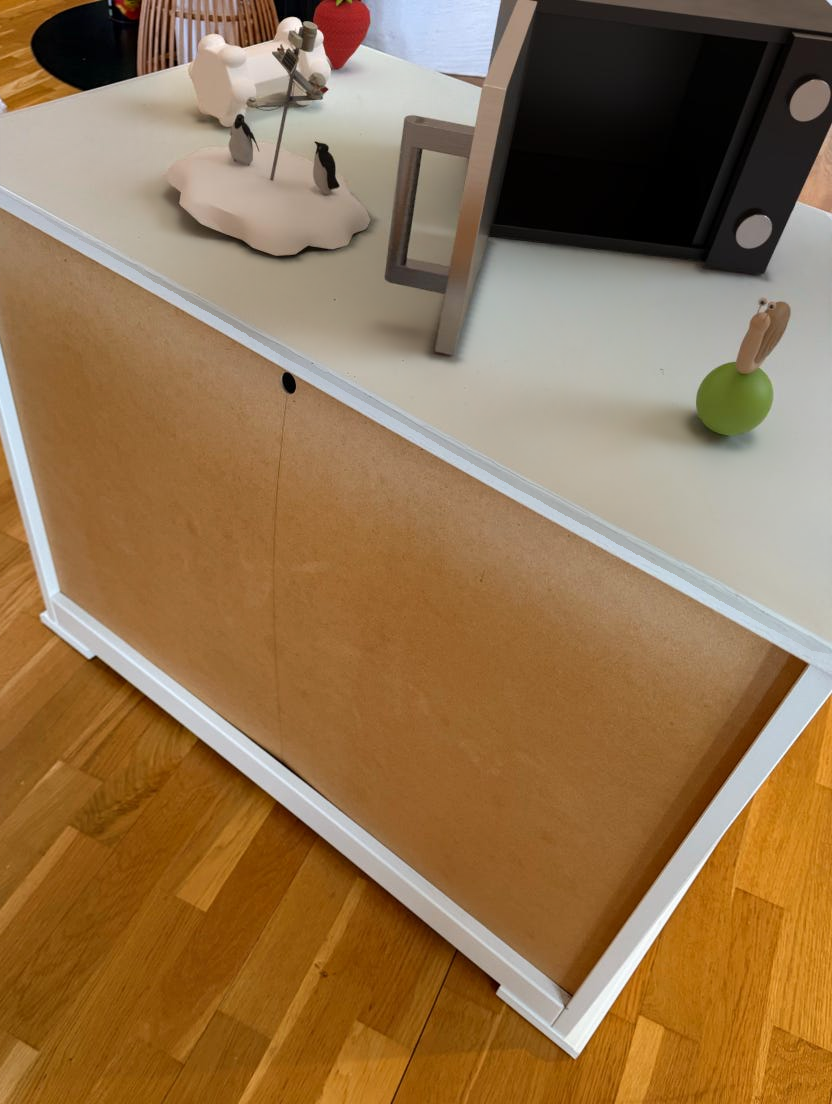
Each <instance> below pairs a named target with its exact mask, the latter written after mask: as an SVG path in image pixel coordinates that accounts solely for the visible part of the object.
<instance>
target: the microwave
mask: <svg viewBox="0 0 832 1104" xmlns="http://www.w3.org/2000/svg"><path fill="white" fill-rule="evenodd" d="M517 1H518V0H500V3H499V8H498V14H497V19H496V25H495V30H494V35H493V40H492V46H491V47H492V48H491V51H490V57H489V64H488V67H487V68H488V69H487V72H488V71H489V69H490V66H491V64H492V61H493V59H494V56H495V54H496V52H497V49H498V47H499V44H500V42H501V39H502V37H503V35H504V32H505V30H506V27H507V25H508V22H509V20H510V18H511V15H512V13H513V10H514V8H515V5H516V3H517ZM531 1H537V8H536V12H535V17H534V22H533V27H532V32H531V36H530V41H529V46H528V51H527V56H526V60H525V65H524V70H523V75H522V80H521V84H520V89H519V94H518V99H517V104H516V108H515V113H514V118H513V123H512V128H511V132H510V137H509V142H508V147H507V152H506V156H505V161H504V166H503V171H502V176H501V180H500V185H499V190H498V195H497V200H496V204H495V209H494V214H493V219H492V224H491V228H490V233H489V237H495V238H500V239H501V238H503V239H510V240H519V241H529V242H536V243H545V244H552V245H560V246H570V247H578V248H586V249H596V250H601V251H602V250H603V251H610V252H619V253H628V254H635V255H636V254H638V255H645V256H652V257H654V256H655V257H663V258H671V259H678V260H685V261H686V260H687V261H696V262H701V264H702V265H703V268H707V269H708V268H709V269H716V270H724V271H725V270H726V271H735V272H742V273H750V274H759V275H765V273H766V270H767V268H768V266H769V264H770V262H771V260H772V257H773V255H774V253H775V251H776V249H777V246H778V243H779V242H780V240H781V237H782V236H783V234H784V231H785V228H786V227H787V224H788V223H789V220H790V218H791V215H792V213H793V211H794V209H795V206H796V204H797V202H798V200H799V197H800V196H801V193H802V191H803V189H804V187H805V184H806V182H807V180H808V177H809V175H810V174H811V171H812V168H813V166H814V165H815V162H816V160H817V158H818V156H819V154H820V151H821V149H822V146H823V145H824V142H825V140H826V138H827V136H828V134H829V131H830V128H831V127H832V4H831V3H830V2H829V1H828V0H531Z"/></svg>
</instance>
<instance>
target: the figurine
mask: <svg viewBox="0 0 832 1104" xmlns="http://www.w3.org/2000/svg"><path fill="white" fill-rule="evenodd" d="M302 26H303V27H300V29H299V34H297V33H296V32H295V31H296V29H295V31H289V35H288V40H289V41H290V42H291V43H292V44H291V43H290V44H291V45H294V46H295V47H296V49H294V50H292V51H295V52H294V53H293V52H292V51H291V50H290V49H289V48H288V49H287V50H286V52H284V50H285V49H284V48H283V47H282V44H281V45H280V47H282V48H277V51H274V52H272V54H273V55H274V57H275V58H276V59H277V60H278V61H279V62H280V64H281V65H282V66H283V67H284V68H285V69H286V71H287V75H288V74H289V75H288V77H290V79H289V78H288V79H289V85H288V90H287V94H285V98H284V101H257V99H255V98H254V97H249V99H247V102H246V104H247V106H248V107H249V108H253V109H257V110H261V111H265V112H267V111H268V112H270V111H276V110H277V109H279V108H283V111H282V116H281V122H280V127H279V130H278V131H279V132H278V137H277V142H276V144H274V143H270V142H266V141H262V142H258V143H257V140H256V138H255V135H254V133H253V132H252V131H251V128H250V127H249V125H248V123H246V122H245V117H244V116H243V115H242V114H238V115H237V116H236V119H235V122H234V123H233V125H232V127H231V130H230V134H229V135H230V138H229V141H228V146H209V147H204V148H200V149H196V150H194V151H193V152H192V153H190V154H188V155H187V156H185V157H184V158H181V159H179V160H176V161H174V162H173V163H172V164H171V165H170V166H169V168H168V169H167V170H166V171H165V173H164V174H163V177H164V178H165V180H166V181H167V182H168V183H169V185H171V186H172V187H174V189H176V190H177V191H179V193H180V196H179V204H178V205H180V206H181V207H182V208H183V209H184V210H185V211H186V212H187V213H188V214H190V215H191V216H192V218H194V219H195V220H196V221H197V222H198V223H199V224H200V225H203V226H205V227H207V228H209V229H212V230H214V231H217V232H220V233H222V234H224V235H228V236H230V237H232V238H233V237H234V238H236V239H238V240H241V241H243V242H245V243H246V244H247V245H249V247H251V248H253V249H255V250H258V251H261V252H264V253H267V254H269V255H273V256H275V257H276V256H291V255H296V254H298V253H299V252H301V251H302V250H303V249H305V248H307V247H308V246H309V247H315V248H321V249H328V250H335V249H339V248H343V247H346V246H349V244H350V242H351V240H352V237H353V235H354V234H356V233H359V232H362V231H365V230H367V229H368V227H369V224H370V223H371V218H370V215H369V213H368V210H367V208H365V207H364V205H363V204H362V203H361V202H360V201H359V200H358V199H357V198H356V197H355V196H354V195H353V194H352V193H351V192H350V188H349V187H350V186H349V183H348V180H347V179H346V178H345V177H344V176H342V175H341V174H339V173H338V172H336V169H337V168H336V161H335V159H334V156H333V155H332V153H331V152H329V151H330V147H329V145H328V144H327V143H324V142H319V141H315V140H314V144H315V145H316V149H315V153H314V158H313V159H314V160H313V161H312V160H309V159H306V158H304V157H302V156H298V155H297V154H294V153H291V152H289V151H288V150H286V149H285V148H284V147H282V146H281V144H282V139H283V133H284V129H285V125H286V124H285V123H286V118H287V113H288V110H290V109H291V108H292V106H293V103H294V102H296V101H310V100H315V101H321V100H324V95H325V94H326V93H327V92H328V91H329V90H330V89H329V88H328V87H327V86H326V85H327V81H325V77H324V76H323V75H322V74H321V73H317V72H315V73H313V74H312V75H311V76H310V77H309V81H307V80H306V79H305V78H304V77H303V76H302V75H301V74H300V73H299V72H298V71H297V70H296V67H297V63H298V61H299V58H298V55H299V53H300V51H299V48H300V49H301V50H303V51H306V52H312V51H313V49H314V44H315V39H316V36H317V28H318V27H317V25H316V24H314V22H312V21H306V20H305V21H303V22H302ZM291 45H290V46H291ZM291 47H293V46H291ZM293 48H294V47H293ZM293 79H294V80H295V81H296V82H297V83H299V84H300V85H301V86H302V87H303V88H304V89H305V90H306V92H305V93H306V94H307V96H293V95H294V94H292V96H290V95H291V93H292V84H293V85H294V83H295V82H294V81H293ZM293 82H294V83H293ZM295 84H296V83H295ZM294 87H295V86H294ZM298 88H299V87H298ZM299 89H300V88H299ZM301 90H302V89H301ZM302 91H303V90H302ZM293 92H294V89H293ZM303 92H304V91H303ZM263 108H274V109H263ZM253 143H254V144H253Z"/></svg>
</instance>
